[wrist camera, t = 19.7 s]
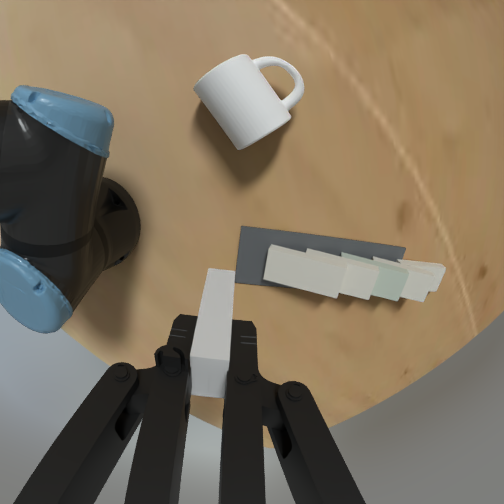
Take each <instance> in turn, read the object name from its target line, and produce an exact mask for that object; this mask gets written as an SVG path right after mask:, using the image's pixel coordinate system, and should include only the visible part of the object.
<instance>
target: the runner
mask: <svg viewBox="0 0 504 504" xmlns="http://www.w3.org/2000/svg"><path fill="white" fill-rule="evenodd" d="M271 244H273V245H277V246H281V247H285V248H289V249H293V250H297V251H301V252H305V253H306V250H307V248H309V249H313V250H317V251H321V252H325V253H328V254H332V255H336V256H341V253H342V252H343V253H347V254H351V255H355V256H359V257H363V258H367V259H370V260H372V258H373V256H374V257H378V258H381V259H385V260H389V261H393V262H396V260H397V259H401V260H402V258H403V256H404V253H405V250H406V248H404V247H398V246H391V245H385V244H378V243H371V242H364V241H357V240H350V239H342V238H335V237H328V236H320V235H312V234H305V233H297V232H289V231H281V230H272V229H264V228H255V227H247V226H241V234H240V242H239V250H238V258H237V267H236V275H235V283H245V284H255V285H265V286H276V287H286V288H295V287H291V286H287V285H283V284H279V283H276V282H272V281H268V280H265V279H263V278H264V273H265V267H266V261H267V255H268V250H269V247H270V246H271Z"/></svg>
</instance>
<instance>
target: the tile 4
mask: <svg viewBox="0 0 504 504" xmlns="http://www.w3.org/2000/svg"><path fill="white" fill-rule="evenodd" d="M372 260H374V261H378V262H382V263H385V264H389V265H393V266H397V267H400V268H404V269H407V270H408V273H409V276H408V279H407V281H406V283H405V286H404V288H403V290H402V293H401V295H400V297H403V298H407V299H412V300H416V301H420V302H424V300H425V298H426V296H427V293H428V291H429V289H430V287H431V284H432V282H433V280H434V277H435V276H434V274H433V272H431V271H427V270H423V269H420V268H416V267H412V266H408V265H405V264H401V263H397V262H393V261H389V260H385V259H381V258H378V257H374V256H373V258H372Z"/></svg>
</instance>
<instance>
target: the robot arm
mask: <svg viewBox="0 0 504 504" xmlns="http://www.w3.org/2000/svg"><path fill="white" fill-rule="evenodd" d="M11 99H12V100H1V101H0V227H1V246H0V303H1V305H2V306H3V307H4V308H5V309H6V311H7V312H8V313H9V314H10V315H11V316H12V317H13V318H15V319H16V320H17V321H18V322H20V323H21V324H22V325H24V326H25V327H27V328H29V329H31V330H33V331H36V332H39V333H51V332H56V331H57V330H59V329H60V328H61V327H62V325H63V324H64V323H65V322H66V321H67V320H68V319H69V318H70V317H71V316H72V314H73V311H74V310H75V308H76V307H77V305H78V304H79V303H80V301H81V300H82V298H83V297H84V295H85V294H86V293H87V291H88V290H89V289H90V287H91V286H92V284H93V283H94V282H95V280H96V279H97V278H98V276H99V275H100V274H101V272H102V271H104V270H106V269H108V268H110V267H113V266H115V265H117V264H119V263H121V262H122V261H123V260H125V259H126V258H127V257H128V256H129V254H130V253H131V252H132V250H133V249H134V247H135V246H136V244H137V242H138V239H139V235H140V218H139V213H138V210H137V207H136V205H135V203H134V201H133V199H132V198H131V196H130V195H129V194H128V192H127V191H126V190H125V189H124V188H123V187H122V186H120V185H119V184H118V183H116V182H114V181H112V180H110V179H108V178H104V177H103V173H104V168H105V164H106V160H107V158H108V157H109V151H108V150H109V145H110V140H111V136H112V131H113V127H114V118H113V115H112V113H111V112H110V111H109V110H108V109H107V108H106V107H104V106H102V105H99V104H97V103H94V102H92V101H89V100H86V99H83V98H80V97H76V96H73V95H69V94H66V93H62V92H58V91H54V90H49V89H44V88H39V87H31V86H26V85H20V86H18V87H17V88H16V89H15V90H14V92H13V93H12V94H11ZM234 282H235V271H230V270H221V269H212V268H209V269H208V273H207V278H206V282H205V287H204V291H203V296H202V300H201V305H200V309H199V314H198V316H191V315H184V314H180V315H179V316H178V317H177V318H176V319H175V320H174V322H173V325H172V329H171V331H170V336H169V338H168V342H167V345H164V346H161V347H160V348H158V349H157V350H156V352H155V354H154V355H155V362H156V366H154V367H152V368H147V369H137V370H136V369H135V368H134V366H132V365H131V364H129V363H125V362H121V363H116V364H113V365H112V366H111V367H109V368H108V370H107V371H106V372H105V373H104V375H103V376H102V377H101V379H100V380H99V381H98V383H97V384H96V385H95V387H94V388H93V389H92V390H91V392H90V393H89V395H88V396H87V397H86V398H85V400H84V401H83V403H82V404H81V405H80V407H79V408H78V409H77V411H76V412H75V413H74V415H73V416H72V418H71V419H70V420H69V422H68V423H67V424H66V426H65V427H64V429H63V430H62V431H61V433H60V434H59V436H58V437H57V439H56V440H55V441H54V443H53V444H52V446H51V447H50V448H49V450H48V451H47V453H46V454H45V456H44V457H43V459H42V460H41V462H40V463H39V465H38V466H37V468H36V469H35V471H34V472H33V474H32V475H31V477H30V478H29V480H28V481H27V483H26V484H25V486H24V487H23V489H22V491H21V493H20V494H19V495H18V497H17V498H16V500H15V502H14V503H13V504H94V502H95V501H96V499H97V497H98V495H99V493H100V492H101V490H102V488H103V486H104V484H105V483H106V481H107V479H108V477H109V476H110V474H111V472H112V471H113V469H114V467H115V465H116V463H117V462H118V460H119V458H120V457H121V455H122V453H123V451H124V449H125V448H126V446H127V444H128V443H129V441H130V439H131V437H132V436H133V434H134V432H135V430H136V429H137V427H138V425H139V423H140V422H141V420H142V423H141V427H140V432H139V436H138V440H137V444H136V449H135V453H134V458H133V462H132V467H131V472H130V477H129V482H128V487H127V492H126V497H125V503H124V504H178V501H179V491H180V482H181V473H182V465H183V457H184V449H185V441H186V433H187V426H188V419H189V412H190V397H191V395H198V396H206V397H215V398H224V409H223V425H222V443H221V462H220V483H219V504H266V501H265V475H264V449H263V425H264V426H267V428H268V431H269V434H270V436H271V439H272V442H273V445H274V448H275V450H276V453H277V456H278V459H279V461H280V464H281V467H282V469H283V472H284V475H285V477H286V480H287V483H288V485H289V488H290V490H291V493H292V496H293V498H294V501H295V503H296V504H366V503H365V501H364V500H363V497H362V495H361V494H360V491H359V490H358V487H357V485H356V483H355V481H354V480H353V477H352V475H351V473H350V471H349V470H348V467H347V465H346V464H345V461H344V459H343V457H342V455H341V453H340V452H339V449H338V447H337V445H336V443H335V441H334V439H333V437H332V435H331V433H330V431H329V429H328V427H327V425H326V423H325V421H324V419H323V417H322V415H321V413H320V411H319V409H318V407H317V404H316V402H315V400H314V398H313V396H312V394H311V392H310V390H309V389H308V388H307V386H305V385H304V384H302V383H300V382H296V381H289V382H286V383H283V384H282V385H279V384H276V383H272V382H270V381H268V380H266V379H265V378H263V377H262V376H261V374H260V373H259V370H258V358H257V333H256V327H255V326H254V324H253V322H252V321H243V320H232V312H233V297H234ZM142 418H143V419H142Z"/></svg>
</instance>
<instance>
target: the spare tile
mask: <svg viewBox="0 0 504 504" xmlns="http://www.w3.org/2000/svg"><path fill="white" fill-rule="evenodd" d="M340 257H344V258H348V259H352V260H356V261H360V262H364V263H367V264H371V265H375V266H378V267H379V271H380V272H379V275H378V277H377V280H376V283H375V285H374V288H373V290H372V293H371V295H374V296H378V297H382V298H386V299H390V300H394V301H398V300H399V297H400V295H401V293H402V290H403V288H404V286H405V283H406V281H407V279H408V276H409V273H408V270H407V269H404V268H400V267H397V266H393V265H389V264H385V263H382V262H378V261H374V260H370V259H367V258H363V257H359V256H355V255H351V254H347V253H343V252H342V253H341V256H340Z"/></svg>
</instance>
